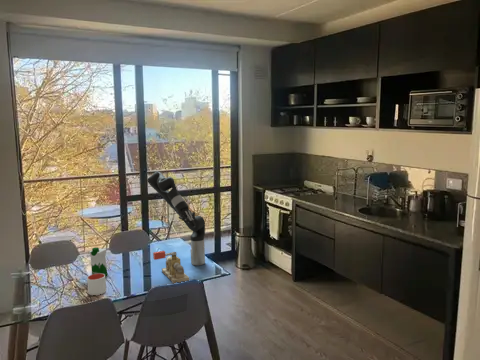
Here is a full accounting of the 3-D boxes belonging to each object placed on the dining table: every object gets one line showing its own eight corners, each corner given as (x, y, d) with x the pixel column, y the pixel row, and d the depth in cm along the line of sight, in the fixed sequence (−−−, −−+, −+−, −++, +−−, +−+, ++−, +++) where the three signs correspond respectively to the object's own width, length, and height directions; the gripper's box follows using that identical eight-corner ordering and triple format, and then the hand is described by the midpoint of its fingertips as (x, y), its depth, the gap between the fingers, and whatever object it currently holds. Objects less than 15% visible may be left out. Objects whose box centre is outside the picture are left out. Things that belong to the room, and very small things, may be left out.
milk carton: (89, 279, 264) (87, 249, 261) (98, 274, 272) (96, 244, 269) (101, 280, 261) (98, 250, 258) (110, 275, 269) (107, 245, 266)
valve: (161, 271, 273) (160, 251, 271) (176, 268, 278) (175, 249, 276) (173, 283, 252) (172, 262, 250) (189, 280, 257) (188, 259, 255)
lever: (153, 258, 258) (152, 252, 258) (175, 254, 265) (175, 248, 265) (154, 260, 256) (154, 253, 255) (177, 255, 262) (176, 249, 262)
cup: (91, 289, 247) (89, 273, 245) (108, 288, 248) (106, 272, 246) (86, 296, 237) (84, 280, 235) (104, 295, 238) (102, 279, 236)
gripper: (184, 206, 262) (198, 228, 256) (169, 209, 251) (183, 232, 245) (190, 199, 258) (205, 221, 252) (175, 201, 248) (189, 224, 241)
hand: (194, 226), depth 249 cm, fingers closed
